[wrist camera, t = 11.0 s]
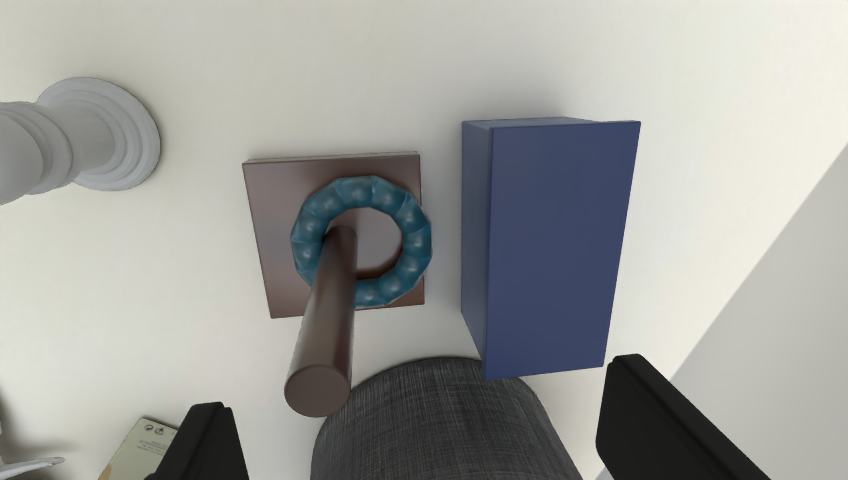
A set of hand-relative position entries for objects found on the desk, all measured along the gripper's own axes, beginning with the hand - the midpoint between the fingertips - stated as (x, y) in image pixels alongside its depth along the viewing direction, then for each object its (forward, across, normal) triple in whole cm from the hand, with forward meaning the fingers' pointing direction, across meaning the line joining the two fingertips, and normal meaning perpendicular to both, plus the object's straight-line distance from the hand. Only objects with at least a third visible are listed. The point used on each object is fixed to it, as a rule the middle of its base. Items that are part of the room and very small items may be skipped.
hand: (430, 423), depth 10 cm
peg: (+15, +3, 0) cm, 15 cm away
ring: (+13, +2, 0) cm, 13 cm away
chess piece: (+15, +14, -6) cm, 21 cm away
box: (+15, -7, 0) cm, 16 cm away
